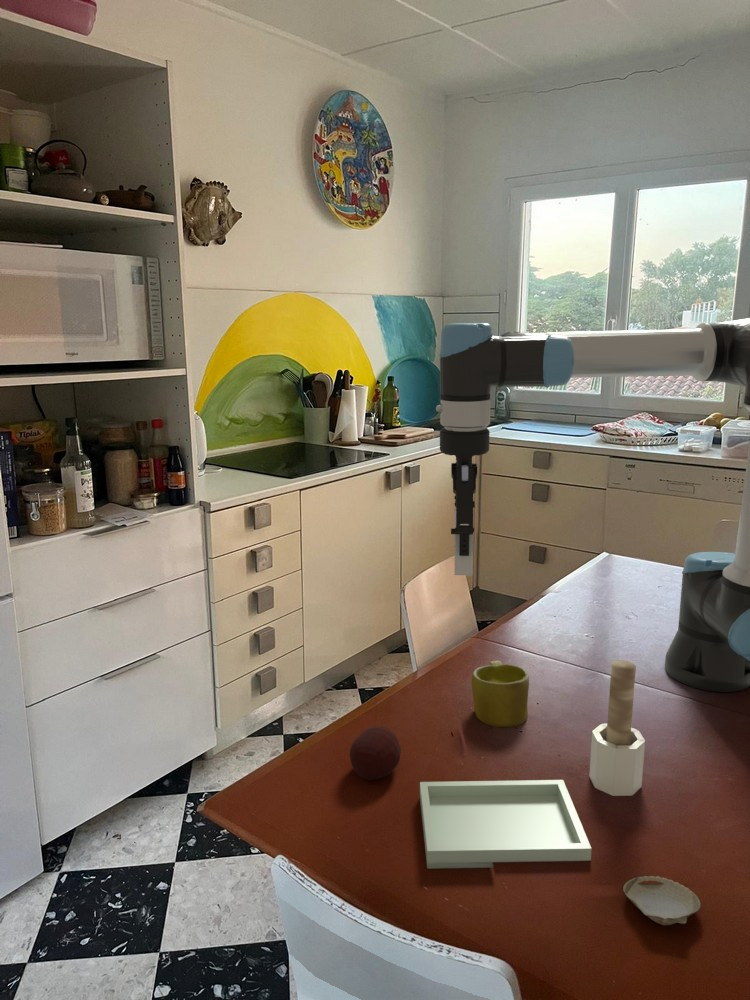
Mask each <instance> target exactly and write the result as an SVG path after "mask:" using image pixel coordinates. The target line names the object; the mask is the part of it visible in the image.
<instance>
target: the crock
mask: <svg viewBox="0 0 750 1000" xmlns="http://www.w3.org/2000/svg"><path fill="white" fill-rule="evenodd" d="M591 731H592V732H591V744H590V745H591V746H590V760H589V773H588V774H589V775H588V776H589V778H590V781H591V783H592V785H593V787H594V788H595V789H597V790H599V791H601V792H604V794H608V795H610V796H613V797H614V796H615V797H616V796H617V797H620V796H621V797H625V796H629V797H631V796H634V794H636V793H637V792H638V791H639V790H640V789H641V788H642V786H643V784H642V783H643V775H644V774H643V771H644V762H645V761H644V760H645V759H644V758H645V748H646V747H645V746H646V739H645V738H644V737H643V735H642V734H641V732H640V731H639V729H636V728H633V727H631V737H630V745H618V746H617V745H614V744H612V743H609V742H607V741H606V735H607V723H601V724H599V725H598V726H597V727H596V728H594V729H593V730H591Z"/></svg>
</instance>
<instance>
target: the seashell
mask: <svg viewBox="0 0 750 1000" xmlns="http://www.w3.org/2000/svg"><path fill="white" fill-rule="evenodd" d="M649 881H652V882H654V881H655V882H658V883H643V882H649ZM622 891H623V892H624V894H625V896H626V897H627V898H628V900H630V901H631V903H632V904H633V905H634V906H635V907H636V908H637V909H638V910H639V911H641V912H642V913H643V915H645V916H646V917H648V918H649V919H650V920H651V921H654V922H655V923H657V924H659V925H662V926H671V925H674V924H677V923H678V924H682V925H684V924H687V921H688V918H689V917H691V916H693V915H694V914H696V913H697V912H699V911H700V910H701V907H702V903H701V900H700V899H699V897H698V895H697V894H696V893H695V892H694V891H692V890H691V889H690V888H689V887H686V886H685V885H683V884H681V883H680V882H677V881H674V880H672V879H669V878H667V877H661V876H659V875H657V876H654V875H649V876H647V875H644V876H637V877H633V878H632V879H629V880H628V881H626V882H625V884H624V885H623V889H622Z"/></svg>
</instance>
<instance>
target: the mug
mask: <svg viewBox="0 0 750 1000" xmlns="http://www.w3.org/2000/svg"><path fill="white" fill-rule="evenodd" d="M529 686H530V676H529V674H528V672H527V671H526V670H525V669H524V668H522V667H521V666H518V665H513V664H503V663H502V661H501V660H492V661H491V660H490V663H489V664H488V665H484V666H479V667H477V668H475V670H474V671H473V672H472V676H471V690H472V701H473V709H474V714H475V717H476V718H477V719H478V721H481V722H482V723H484V724H486V725H489V726H492V727H494V728H495V727H497V728H512V727H517V726H520V725H522V724H524V723H525V722H526V720H527V718H528V712H529V711H528V709H529V708H528V699H529Z"/></svg>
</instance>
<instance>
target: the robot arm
mask: <svg viewBox="0 0 750 1000" xmlns="http://www.w3.org/2000/svg"><path fill="white" fill-rule="evenodd" d="M492 329H493V328H492V326H491V324H490V323H487V322H456V323H455V322H453V323H448V324H446V325H444V327H443V328H442V329H441V334H440V353H439V383H440V384H439V392H440V393H439V394H440V396H439V397H440V404H439V405H438V404H437V405H436V407H435V410H436V412H440V416H439V417H440V419H439V423H440V425H441V426H443V427H442V428H441V429H440V430H439V451H440V452H441V453H442V454H444V455H446V456H455V462H451V465H450V467H451V468H450V469H451V470H450V471H451V472H450V474H451V476H450V477H451V479H452V493H453V494H454V500H455V501H454V507H455V508H454V520H453V521H454V525H453V526H454V528H450V535H454V537H453V539H454V542H453V543H454V544H453V547H454V576H474V532H475V527H474V508H476V506H475V505H476V503H475V501H474V494H475V493H476V490H477V489H476V487H477V485H476V483H477V480H476V479H477V478H478V464H477V462H473V457H474V456H483V455H486V454H487V453H489V452H490V430H489V428H487V427H488V426H489V425H490V424H491V389H492V388H502V387H508V388H509V387H512V388H513V387H514V388H515V387H516V388H517V387H521V388H522V387H523V388H524V387H525V388H526V387H529V388H530V387H532V388H533V387H537V388H538V387H543V388H545V389H546V388H549V387H559V386H565V385H567V384H568V383H569V382H570V381H571V379H572V378H573V379H574V378H577V379H578V378H616V377H617V378H619V377H620V378H625V377H627V378H628V377H629V378H630V377H633V378H634V377H673V376H674V377H679V376H680V377H681V376H685V377H686V376H688V377H689V376H690V377H691V376H692V377H693V379H694V380H695V381H697V382H718V383H726V384H732V385H735V386H736V385H737V386H740V387H744V388H745V390H744V397H743V407H744V408H745V409H746V410H747V411H748V412H749V413H750V317H747V318H740V319H735V320H734V319H733V320H727V321H718V322H717V321H716V322H702V323H699V324H698V325H697V326H696V327H695V328H692V329H691V328H687V329H685V328H684V329H643V330H642V329H640V330H639V329H638V330H634V329H633V330H595V331H594V330H591V331H548V332H541V331H540V332H519V331H506V332H505V333H502V334H500V335H494V333H493V330H492ZM747 451H748V452H747V459H746V465H745V466H746V467H745V475H744V483H743V491H742V496H741V497H742V499H741V506H740V511H739V512H740V513H739V520H738V529H737V530H738V531H737V537H736V545H735V553H734V552H724V551H723V552H722V551H699V552H694V553H691V554H689V555H688V556H686V558H685V560H684V562H683V563H684V564H683V569H682V572H681V574H682V576H681V577H682V581H681V591H680V604H679V616H678V626H677V627H678V628H677V631H676V633H675V634H674V637H673V639H672V640H671V643H670V645H669V647H668V649H667V651H666V654H665V659H664V669H665V671H666V673H667V674H668V675H669V676H670V677H671V678H673V679H674V680H675V681H678V682H680V683H682V684H684V685H686V686H690V687H692V688H694V689H697V690H699V689H700V690H702V691H703V690H704V691H708V692H709V691H710V692H716V693H717V692H718V693H731V692H738V691H739V692H740V691H743V690H745V689H747V688H749V687H750V441H749V444H748V449H747Z"/></svg>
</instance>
